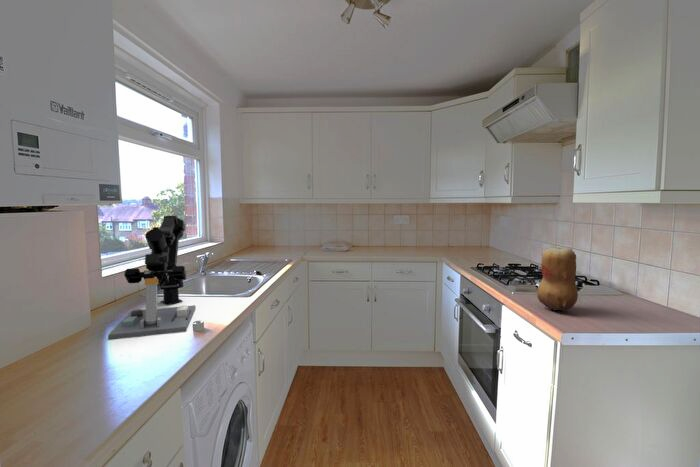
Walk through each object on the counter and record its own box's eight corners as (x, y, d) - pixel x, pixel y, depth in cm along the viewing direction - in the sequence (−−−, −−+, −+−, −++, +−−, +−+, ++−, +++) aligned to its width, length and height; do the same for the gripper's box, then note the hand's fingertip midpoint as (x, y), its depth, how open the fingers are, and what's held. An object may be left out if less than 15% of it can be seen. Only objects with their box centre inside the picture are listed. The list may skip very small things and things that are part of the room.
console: (132, 314, 128) (131, 304, 127) (195, 308, 134) (195, 299, 134) (108, 339, 105) (107, 327, 105) (186, 331, 112) (185, 319, 111)
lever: (145, 325, 112) (146, 279, 114) (158, 324, 113) (158, 278, 116) (143, 326, 110) (144, 278, 113) (157, 325, 111) (157, 277, 114)
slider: (177, 315, 123) (177, 308, 122) (187, 314, 123) (186, 307, 123) (176, 317, 121) (176, 310, 120) (186, 316, 122) (185, 309, 121)
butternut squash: (529, 305, 139) (533, 245, 137) (562, 304, 139) (565, 244, 137) (550, 316, 125) (554, 250, 123) (586, 316, 126) (590, 249, 123)
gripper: (124, 245, 117) (114, 284, 107) (183, 243, 122) (179, 280, 113) (132, 264, 125) (124, 302, 115) (188, 261, 130) (184, 297, 121)
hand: (153, 295), depth 116 cm, fingers closed
